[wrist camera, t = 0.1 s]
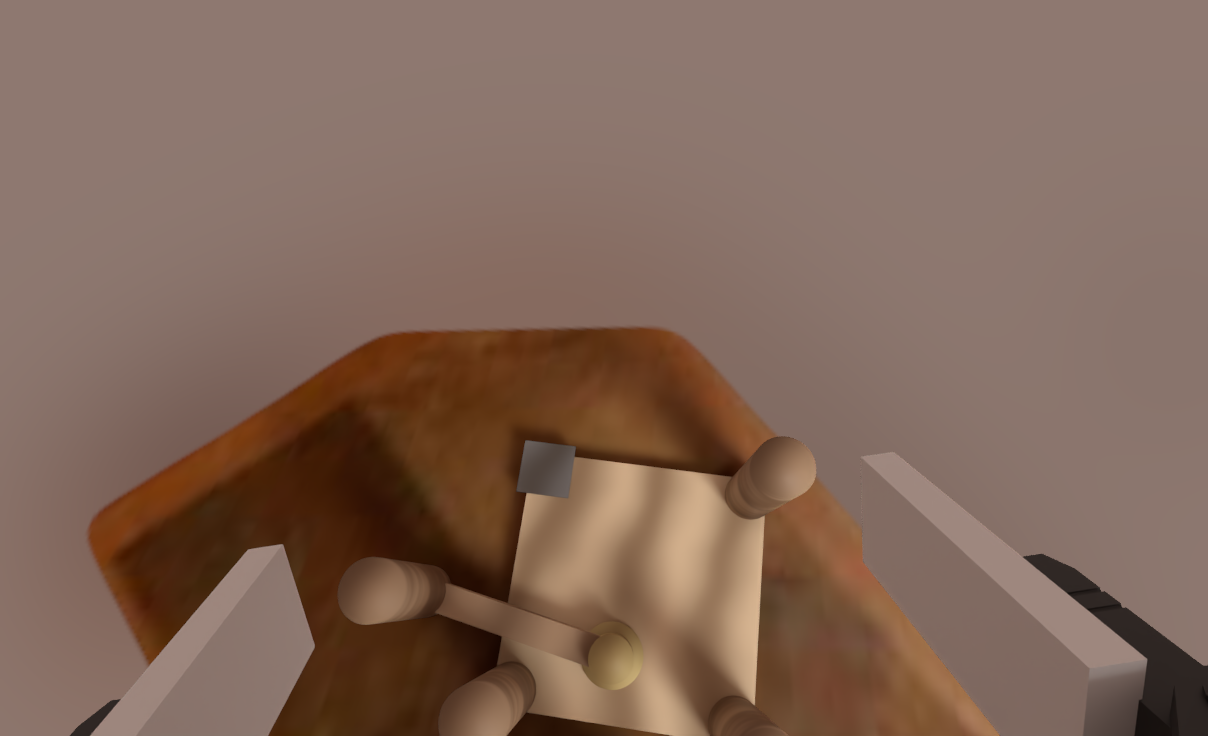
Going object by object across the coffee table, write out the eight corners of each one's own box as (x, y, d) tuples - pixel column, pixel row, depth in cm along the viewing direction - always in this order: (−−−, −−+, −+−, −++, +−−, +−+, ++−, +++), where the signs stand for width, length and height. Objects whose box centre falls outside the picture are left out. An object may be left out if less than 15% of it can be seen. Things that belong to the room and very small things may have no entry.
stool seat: (770, 475, 51) (817, 437, 38) (756, 754, 44) (806, 816, 32) (528, 444, 52) (497, 398, 40) (481, 710, 46) (427, 753, 33)
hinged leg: (639, 636, 45) (643, 649, 35) (624, 690, 44) (624, 720, 34) (413, 558, 47) (354, 548, 37) (394, 608, 46) (326, 612, 36)
